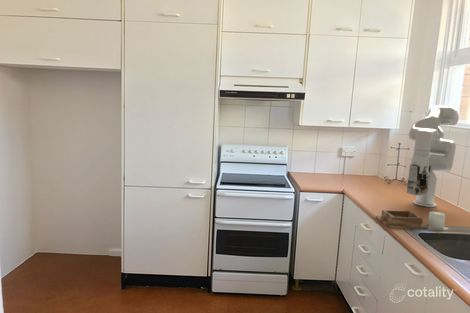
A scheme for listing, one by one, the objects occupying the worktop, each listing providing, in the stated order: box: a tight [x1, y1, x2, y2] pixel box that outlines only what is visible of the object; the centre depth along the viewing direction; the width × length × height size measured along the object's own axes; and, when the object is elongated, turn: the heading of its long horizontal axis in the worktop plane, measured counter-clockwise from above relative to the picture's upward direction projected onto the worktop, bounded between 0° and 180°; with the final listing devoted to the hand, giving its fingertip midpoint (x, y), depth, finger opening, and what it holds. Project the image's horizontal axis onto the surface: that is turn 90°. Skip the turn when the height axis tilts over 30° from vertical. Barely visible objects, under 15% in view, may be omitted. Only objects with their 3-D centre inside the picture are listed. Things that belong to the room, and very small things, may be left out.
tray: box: [375, 209, 429, 230], centre depth 178 cm, size 16×19×5 cm
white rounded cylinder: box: [427, 211, 446, 230], centre depth 175 cm, size 7×7×7 cm
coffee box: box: [406, 164, 431, 197], centre depth 191 cm, size 9×6×16 cm
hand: (418, 183), depth 191 cm, fingers closed on coffee box, 8 cm apart
